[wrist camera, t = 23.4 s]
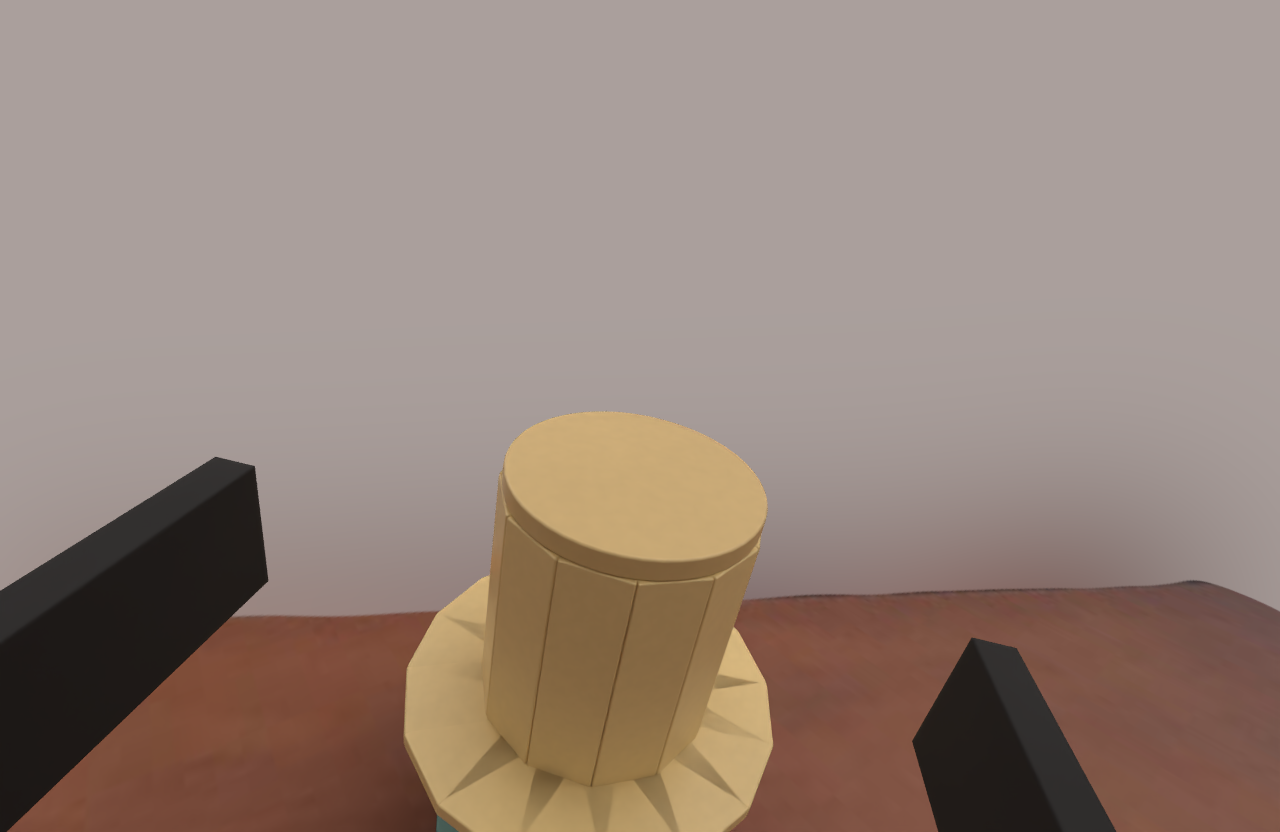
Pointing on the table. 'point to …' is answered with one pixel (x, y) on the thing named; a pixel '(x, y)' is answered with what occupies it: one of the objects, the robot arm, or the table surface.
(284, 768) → the table surface
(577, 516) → the hat
